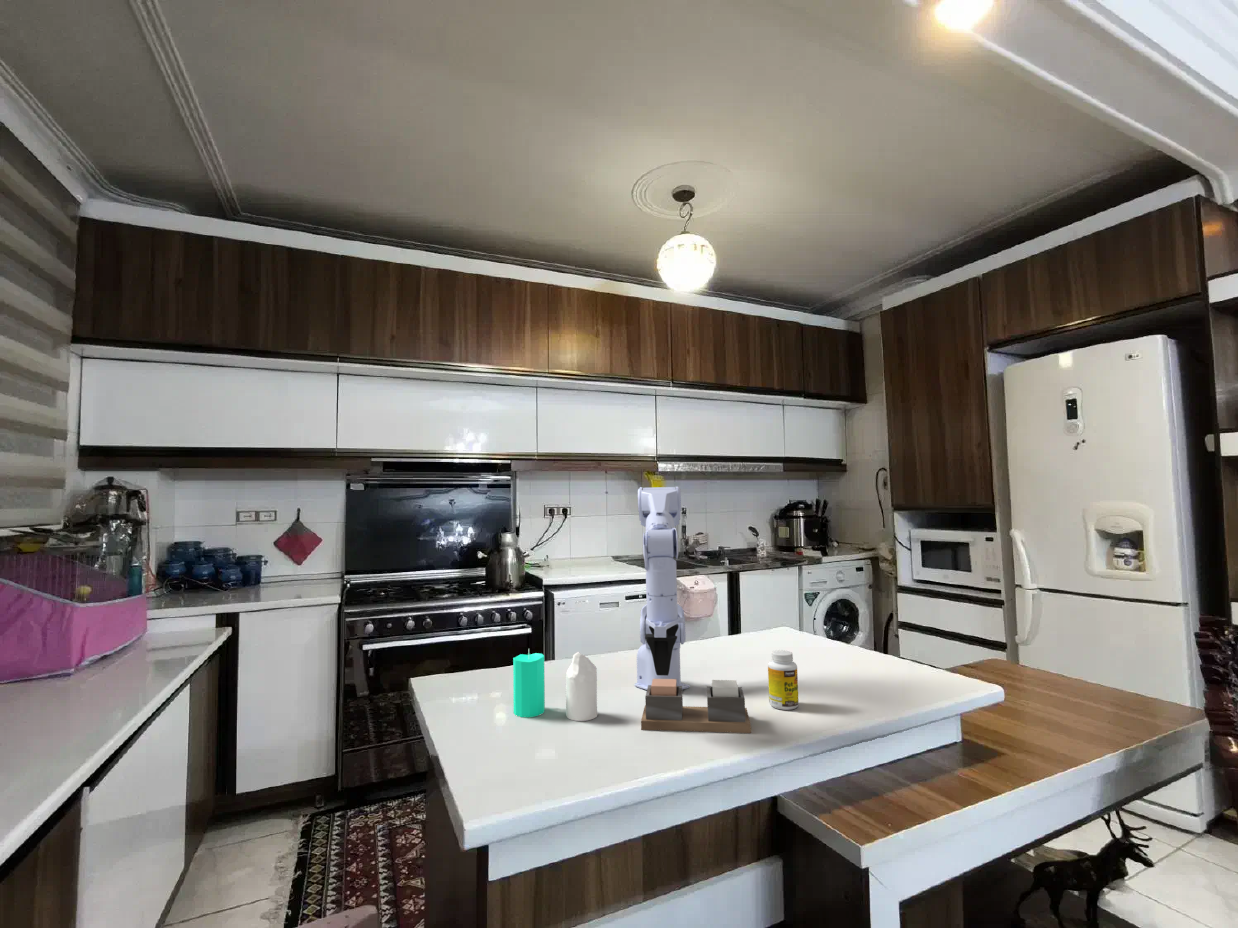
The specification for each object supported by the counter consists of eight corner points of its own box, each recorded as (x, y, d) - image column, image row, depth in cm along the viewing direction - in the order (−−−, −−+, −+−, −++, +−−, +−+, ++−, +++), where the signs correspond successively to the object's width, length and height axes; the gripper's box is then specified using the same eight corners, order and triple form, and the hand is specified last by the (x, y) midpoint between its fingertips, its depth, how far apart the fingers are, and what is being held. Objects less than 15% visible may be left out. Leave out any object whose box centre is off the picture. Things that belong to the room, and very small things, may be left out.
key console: (645, 713, 108) (644, 683, 109) (746, 716, 106) (745, 685, 106) (641, 729, 100) (640, 697, 101) (751, 732, 98) (749, 700, 98)
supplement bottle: (785, 713, 107) (783, 657, 108) (763, 704, 112) (761, 651, 113) (805, 706, 110) (802, 652, 111) (782, 699, 115) (780, 647, 116)
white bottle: (598, 648, 111) (593, 655, 105) (599, 711, 110) (594, 722, 104) (568, 647, 112) (562, 654, 106) (569, 710, 111) (562, 721, 105)
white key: (712, 693, 105) (712, 679, 105) (736, 694, 105) (736, 680, 105) (713, 701, 101) (712, 687, 101) (738, 702, 100) (738, 687, 101)
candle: (550, 707, 112) (549, 646, 113) (535, 718, 107) (535, 653, 108) (523, 705, 114) (522, 644, 115) (507, 715, 109) (507, 651, 110)
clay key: (653, 692, 107) (652, 678, 107) (676, 692, 106) (676, 679, 106) (651, 700, 102) (651, 685, 103) (676, 700, 102) (675, 686, 102)
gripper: (682, 600, 98) (684, 681, 97) (684, 588, 112) (686, 658, 111) (641, 600, 99) (643, 680, 98) (648, 588, 113) (650, 658, 112)
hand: (663, 669), depth 105 cm, fingers open, 7 cm apart
